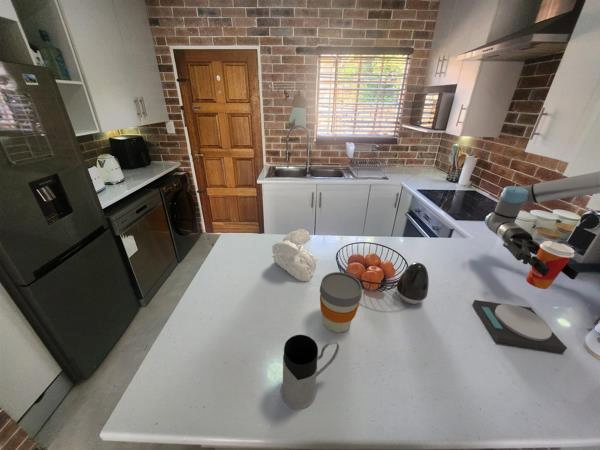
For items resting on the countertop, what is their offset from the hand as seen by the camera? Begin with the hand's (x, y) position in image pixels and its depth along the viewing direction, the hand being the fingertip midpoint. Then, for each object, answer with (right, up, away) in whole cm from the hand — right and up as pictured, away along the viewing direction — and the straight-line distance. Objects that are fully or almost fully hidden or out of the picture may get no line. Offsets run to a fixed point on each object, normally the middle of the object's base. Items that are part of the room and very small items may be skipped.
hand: (560, 273), depth 72 cm
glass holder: (-74, -26, -10) cm, 79 cm away
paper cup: (+1, -5, +8) cm, 9 cm away
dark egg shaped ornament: (-36, -13, +19) cm, 43 cm away
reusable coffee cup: (-64, -17, +8) cm, 67 cm away
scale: (-7, -19, +8) cm, 22 cm away
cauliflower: (-79, -4, +33) cm, 86 cm away
